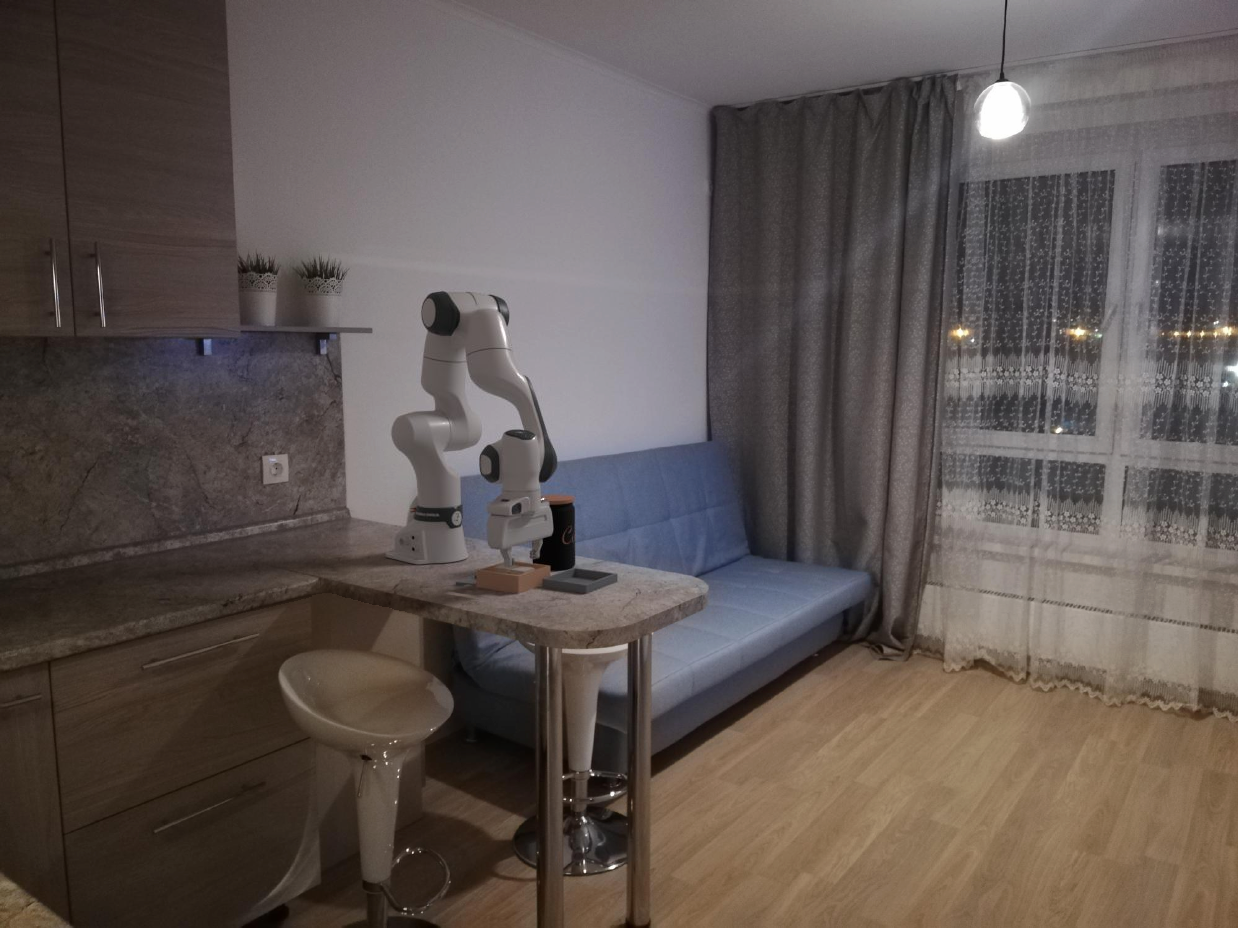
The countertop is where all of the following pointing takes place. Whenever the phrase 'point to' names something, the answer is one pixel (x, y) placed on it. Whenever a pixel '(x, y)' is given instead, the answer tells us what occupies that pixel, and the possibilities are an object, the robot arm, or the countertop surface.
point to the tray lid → (467, 581)
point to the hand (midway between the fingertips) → (522, 562)
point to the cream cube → (504, 569)
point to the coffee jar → (559, 535)
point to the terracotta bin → (512, 578)
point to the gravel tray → (579, 580)
